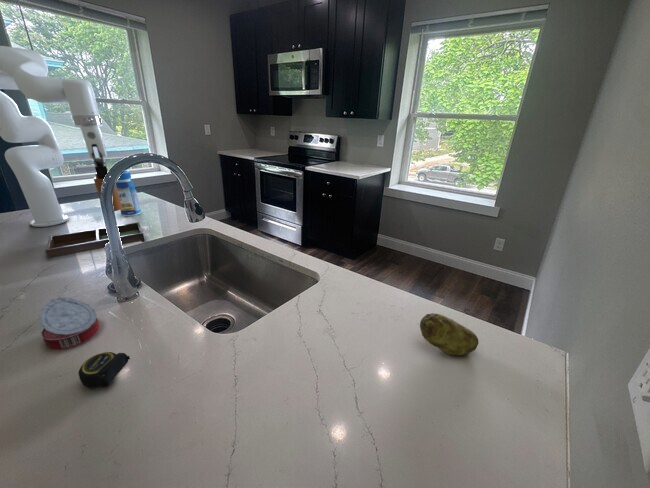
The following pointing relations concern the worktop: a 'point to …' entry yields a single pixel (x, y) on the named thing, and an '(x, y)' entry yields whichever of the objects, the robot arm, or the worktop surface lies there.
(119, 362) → the tape measure
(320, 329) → the worktop surface
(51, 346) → the canned food
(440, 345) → the potato
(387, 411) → the worktop surface
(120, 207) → the bottle
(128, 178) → the beverage bottle
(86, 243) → the tray
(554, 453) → the worktop surface
